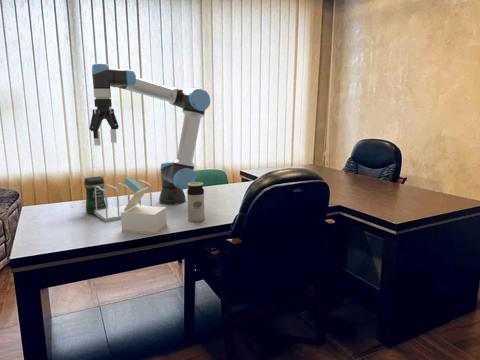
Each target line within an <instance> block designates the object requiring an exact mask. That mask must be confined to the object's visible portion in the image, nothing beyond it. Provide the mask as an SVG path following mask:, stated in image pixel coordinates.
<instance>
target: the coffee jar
mask: <svg viewBox="0 0 480 360" xmlns="http://www.w3.org/2000/svg"><path fill="white" fill-rule="evenodd" d="M83 184H84V185H83V187H84V188H85V190H86V191H85V192H86V195H85V196H86V198H85V199H86V201H85V212H86V213H88V214H94V210H96V204H95V186H98V187H100V188H102V189H103V190H104V188H105V181H104V178H103V176H90V177H85V178H84V182H83ZM96 199H97V210H100V209H106V204H105V193H104V191H102V190H101V189H99V188H97V187H96Z"/></svg>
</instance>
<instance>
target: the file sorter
mask: <svg viewBox="0 0 480 360" xmlns="http://www.w3.org/2000/svg"><path fill="white" fill-rule="evenodd" d="M140 182H142V183H143V184H146V185H148V186H149V202H150V203H149V204H150V205H149V206H153V205H152V204H153V203H152V202H153V201H152V199H153V198H152V197H153V196H152V186H151V183H149V182H147V181H144V180H141V179H138V181H137V183H138V184H140ZM119 185H120V186H123V187H125V188H126V190H127V204H126V205H120V199H119ZM96 187H97V188H99V189H101V190H102V191H103V193H104V200H105V205H106V209H100V210H97V199H96ZM107 187H110V188H112V189H115V192H116V200H117V201H116V202H117V203H116V204H117V206H113V207H109V202H108V201H109V200H108V189H107ZM130 200H131V195H130V188H129V187H128V186H127V185H126V184H124V183H123V184H122V183H120V182H117V183H116V186H114V185H110V184H105V185H104V188H103V189H102V188H100V187H98V186H95V204H96V210H94V213H93V214H94V215H96V216H97V217H99V219H101V220H102V221H104V222H105V223H106V222H113V221H117V220H118V221H119V220H121V212H122V211H124V209H125V207H126V206H127V205H128V203H129V202H130ZM141 201H142V199H141V200H140V201H139V202H138V204H137V205H138V206H146V205H145V204H143V203H142V202H141Z"/></svg>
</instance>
